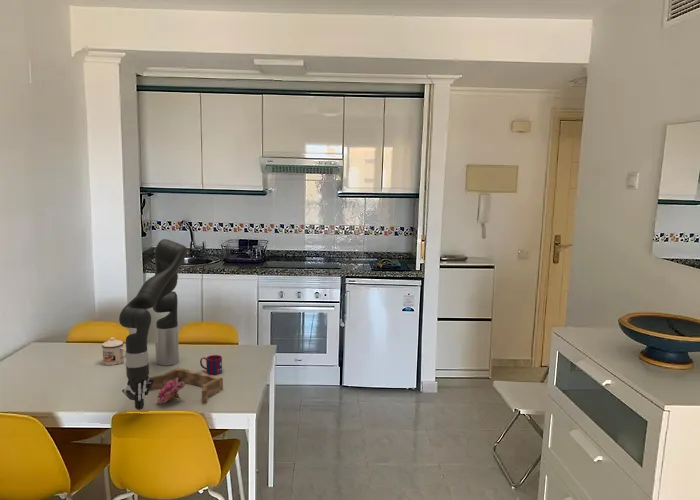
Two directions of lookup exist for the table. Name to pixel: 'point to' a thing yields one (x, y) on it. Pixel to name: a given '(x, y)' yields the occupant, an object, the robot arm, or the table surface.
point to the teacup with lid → (113, 352)
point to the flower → (170, 391)
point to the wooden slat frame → (191, 381)
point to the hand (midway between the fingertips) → (139, 408)
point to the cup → (213, 364)
